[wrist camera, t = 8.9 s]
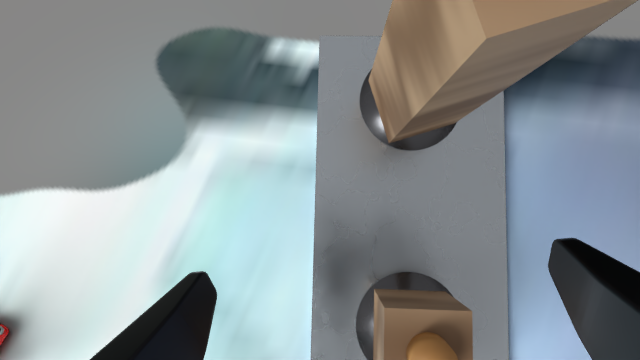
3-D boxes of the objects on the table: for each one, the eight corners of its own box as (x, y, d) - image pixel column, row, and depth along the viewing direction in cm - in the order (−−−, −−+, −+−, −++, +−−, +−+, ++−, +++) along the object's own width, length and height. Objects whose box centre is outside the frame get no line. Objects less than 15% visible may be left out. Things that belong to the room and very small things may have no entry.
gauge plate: (504, 398, 18) (510, 406, 18) (310, 389, 19) (309, 396, 18) (497, 42, 20) (503, 36, 19) (320, 40, 21) (319, 34, 20)
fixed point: (445, 365, 18) (483, 417, 14) (373, 362, 18) (387, 413, 14) (445, 291, 18) (482, 318, 14) (374, 288, 19) (388, 315, 14)
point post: (454, 123, 19) (746, -73, 6) (389, 143, 19) (527, -6, 6) (432, 60, 20) (659, -263, 6) (368, 80, 20) (453, -200, 6)
